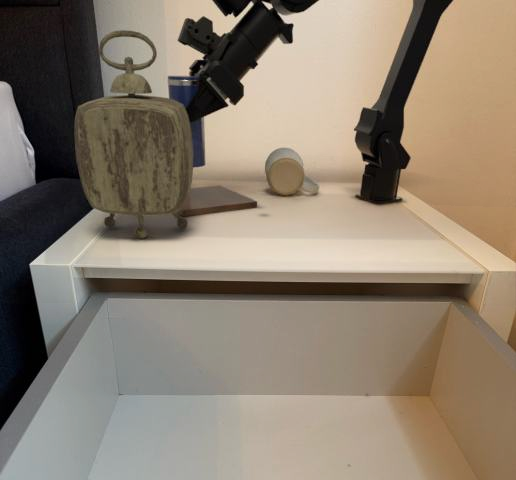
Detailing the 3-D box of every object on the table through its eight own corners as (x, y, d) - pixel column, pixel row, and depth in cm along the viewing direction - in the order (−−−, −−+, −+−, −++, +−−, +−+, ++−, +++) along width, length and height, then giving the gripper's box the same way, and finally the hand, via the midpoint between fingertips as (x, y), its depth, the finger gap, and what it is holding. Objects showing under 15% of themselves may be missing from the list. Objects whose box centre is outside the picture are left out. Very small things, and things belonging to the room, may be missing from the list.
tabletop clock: (196, 226, 76) (189, 34, 64) (191, 245, 69) (182, 30, 56) (100, 224, 76) (74, 30, 63) (84, 243, 68) (51, 26, 55)
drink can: (209, 162, 85) (206, 76, 79) (201, 168, 81) (198, 77, 74) (177, 160, 86) (173, 75, 80) (168, 166, 81) (162, 76, 75)
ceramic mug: (265, 196, 94) (267, 153, 90) (263, 186, 101) (265, 146, 97) (321, 198, 94) (326, 155, 91) (315, 188, 102) (319, 148, 98)
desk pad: (219, 190, 98) (219, 185, 97) (257, 207, 87) (257, 201, 87) (151, 197, 91) (151, 192, 90) (183, 216, 81) (183, 210, 80)
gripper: (199, 2, 81) (136, 78, 84) (220, -11, 65) (141, 84, 68) (246, 59, 86) (186, 129, 89) (276, 60, 71) (201, 144, 74)
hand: (178, 121), depth 80 cm, fingers closed on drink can, 5 cm apart
